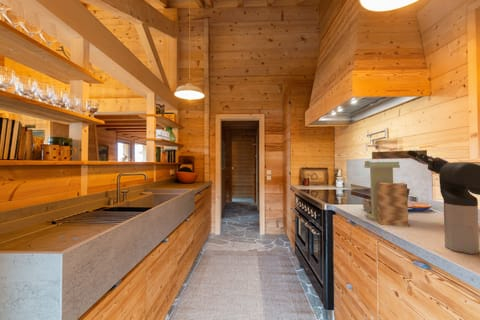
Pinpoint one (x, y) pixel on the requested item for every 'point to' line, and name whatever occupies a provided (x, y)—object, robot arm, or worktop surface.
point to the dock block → (392, 204)
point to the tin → (367, 205)
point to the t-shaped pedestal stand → (379, 181)
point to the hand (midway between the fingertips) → (407, 152)
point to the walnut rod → (395, 154)
